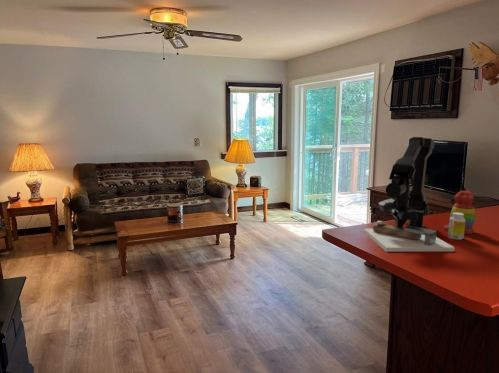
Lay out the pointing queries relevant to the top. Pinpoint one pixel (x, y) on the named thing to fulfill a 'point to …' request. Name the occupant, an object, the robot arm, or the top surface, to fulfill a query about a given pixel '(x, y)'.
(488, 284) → the top surface
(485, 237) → the top surface
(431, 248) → the board
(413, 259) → the top surface
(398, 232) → the brown wooden bar
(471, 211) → the stacking bear
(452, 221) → the supplement bottle
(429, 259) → the top surface
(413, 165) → the robot arm
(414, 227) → the keeper
